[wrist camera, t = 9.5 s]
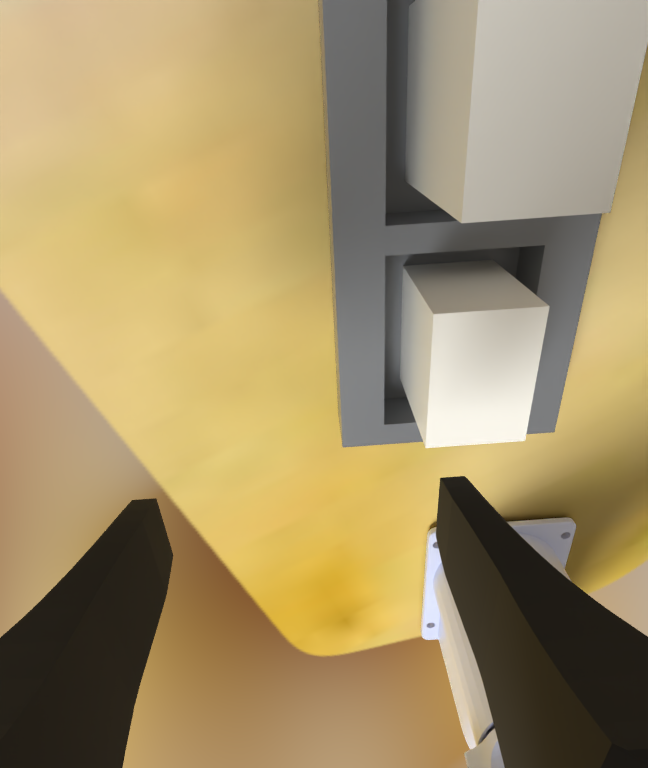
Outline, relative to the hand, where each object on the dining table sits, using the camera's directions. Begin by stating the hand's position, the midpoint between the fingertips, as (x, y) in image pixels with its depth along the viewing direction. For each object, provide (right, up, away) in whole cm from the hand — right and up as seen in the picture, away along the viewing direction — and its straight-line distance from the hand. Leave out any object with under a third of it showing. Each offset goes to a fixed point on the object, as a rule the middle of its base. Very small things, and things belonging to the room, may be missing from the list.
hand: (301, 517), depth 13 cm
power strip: (+5, +10, +6) cm, 13 cm away
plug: (+5, +13, +4) cm, 14 cm away
